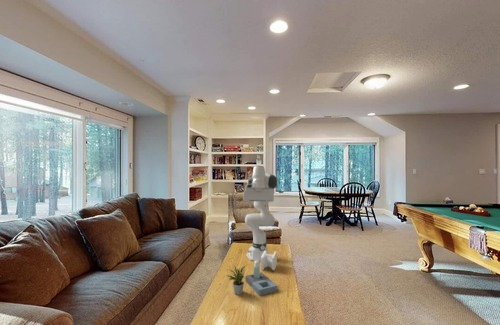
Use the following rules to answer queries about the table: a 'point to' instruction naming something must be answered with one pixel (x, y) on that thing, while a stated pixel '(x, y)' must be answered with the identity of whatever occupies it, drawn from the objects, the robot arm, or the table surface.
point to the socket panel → (261, 284)
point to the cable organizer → (268, 260)
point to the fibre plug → (256, 270)
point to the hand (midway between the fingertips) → (258, 207)
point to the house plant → (237, 280)
